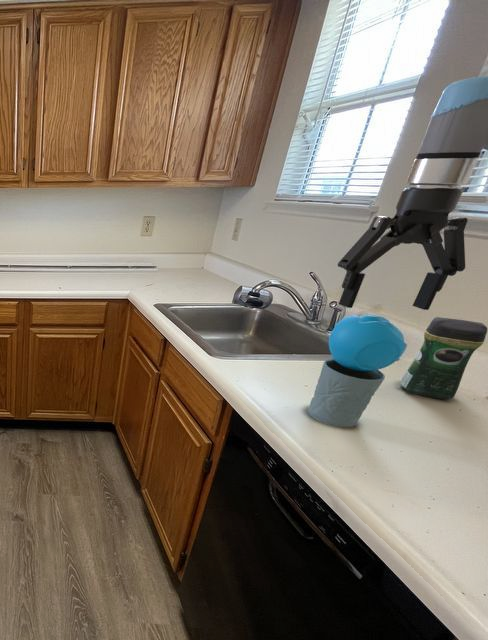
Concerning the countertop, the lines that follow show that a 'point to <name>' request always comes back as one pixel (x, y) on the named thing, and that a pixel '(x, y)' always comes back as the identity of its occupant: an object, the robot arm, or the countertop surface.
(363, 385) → the grey embossed pot
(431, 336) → the coffee jar
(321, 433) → the countertop surface
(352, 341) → the blue rounded lump
